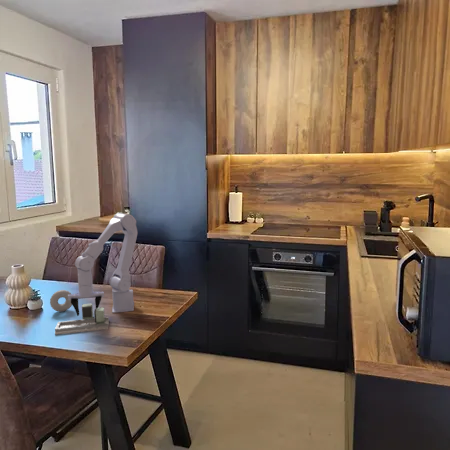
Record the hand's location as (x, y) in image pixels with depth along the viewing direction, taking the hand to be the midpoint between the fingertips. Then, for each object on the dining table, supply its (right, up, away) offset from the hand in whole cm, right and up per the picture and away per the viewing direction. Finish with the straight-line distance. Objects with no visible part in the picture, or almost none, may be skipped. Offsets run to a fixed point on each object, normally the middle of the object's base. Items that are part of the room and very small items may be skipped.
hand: (87, 314), depth 173 cm
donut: (-14, -1, +9) cm, 17 cm away
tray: (+1, -3, -10) cm, 10 cm away
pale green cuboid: (0, -2, 0) cm, 2 cm away
